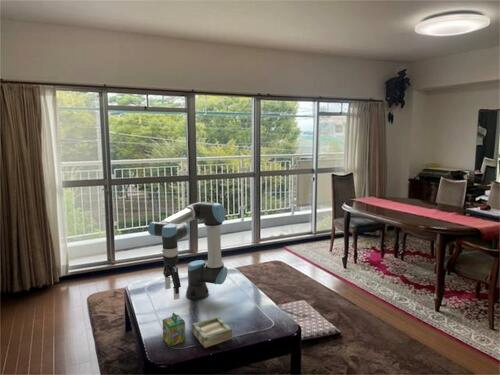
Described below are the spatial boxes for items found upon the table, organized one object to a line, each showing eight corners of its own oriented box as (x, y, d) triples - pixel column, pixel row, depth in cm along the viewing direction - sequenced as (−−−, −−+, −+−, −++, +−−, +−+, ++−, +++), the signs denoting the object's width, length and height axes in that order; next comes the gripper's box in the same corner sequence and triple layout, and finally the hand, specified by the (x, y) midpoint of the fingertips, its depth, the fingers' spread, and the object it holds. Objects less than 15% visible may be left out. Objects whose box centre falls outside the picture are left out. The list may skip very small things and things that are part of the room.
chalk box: (162, 339, 194) (161, 313, 191) (178, 333, 200) (177, 308, 197) (170, 347, 187) (168, 321, 184) (186, 341, 192) (185, 315, 190)
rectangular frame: (192, 332, 200) (192, 323, 199) (218, 324, 208) (218, 315, 207) (204, 348, 186) (204, 338, 185) (232, 338, 194) (231, 329, 193)
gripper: (156, 249, 194) (158, 286, 197) (171, 264, 172) (173, 305, 176) (169, 246, 197) (171, 283, 201) (186, 261, 176) (187, 301, 180)
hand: (172, 293), depth 189 cm, fingers open, 13 cm apart
